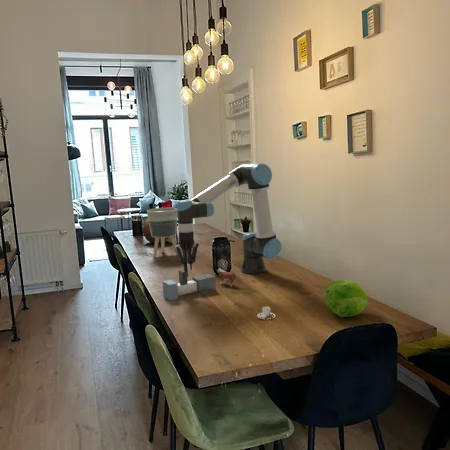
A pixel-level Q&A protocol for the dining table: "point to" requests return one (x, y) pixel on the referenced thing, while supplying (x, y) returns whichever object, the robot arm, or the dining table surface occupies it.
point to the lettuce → (345, 298)
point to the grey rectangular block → (205, 283)
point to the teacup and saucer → (265, 313)
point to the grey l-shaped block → (186, 283)
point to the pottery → (149, 233)
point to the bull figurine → (226, 276)
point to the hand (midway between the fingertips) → (188, 276)
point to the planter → (162, 226)
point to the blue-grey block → (170, 289)
